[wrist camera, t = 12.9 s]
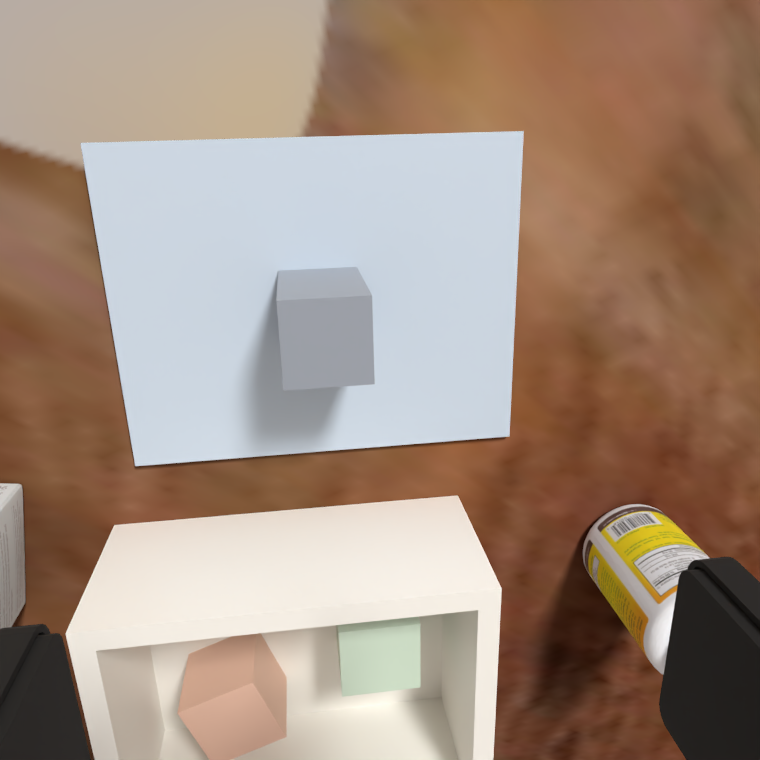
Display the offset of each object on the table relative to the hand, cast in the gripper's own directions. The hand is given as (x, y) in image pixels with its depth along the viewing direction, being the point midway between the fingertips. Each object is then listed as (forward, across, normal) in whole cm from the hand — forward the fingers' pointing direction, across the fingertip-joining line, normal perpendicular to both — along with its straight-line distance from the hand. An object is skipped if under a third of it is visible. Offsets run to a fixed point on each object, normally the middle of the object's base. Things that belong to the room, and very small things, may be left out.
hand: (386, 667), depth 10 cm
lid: (+24, 0, 0) cm, 24 cm away
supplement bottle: (+24, -17, +15) cm, 33 cm away
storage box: (+23, +2, +18) cm, 29 cm away
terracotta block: (+22, +6, +20) cm, 30 cm away
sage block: (+22, -2, +17) cm, 28 cm away
